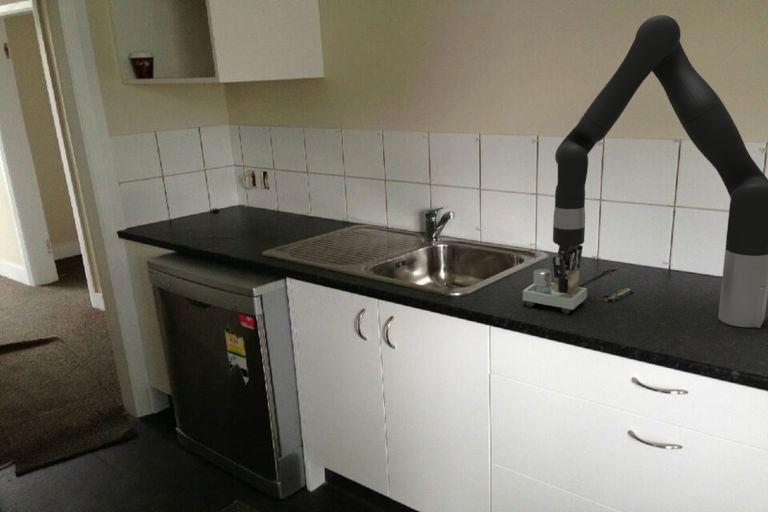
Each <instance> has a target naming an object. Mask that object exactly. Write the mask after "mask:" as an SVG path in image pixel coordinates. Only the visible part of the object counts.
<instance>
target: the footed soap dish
mask: <svg viewBox="0 0 768 512" xmlns="http://www.w3.org/2000/svg"><path fill="white" fill-rule="evenodd" d="M551 288H552V294H551V295H549V294H543V293H538V292H534V282H533V283H532V284H531V285H529V286H528V287H526V288H525V289H523V290H522V301H525V304H526V306H527V307H528V308H532V307H534V306H535V305H536V304H539V305H545V306H549V307H550V306H552V307H557V308H561V312H562V314H564V315H568V314H569V313H571V312H572V310H574V309H576V308H577V307H578V306H579V305H580V304H582V303H583V302H584V301H585V300H586V299H588V298H587V296H588V295H587V294H588V288H586V287H582V286H580V287H578V290H577V291H576V292H575V293H573V294H572V295H570V294H564V293H559V292H555V282H551Z"/></svg>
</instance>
